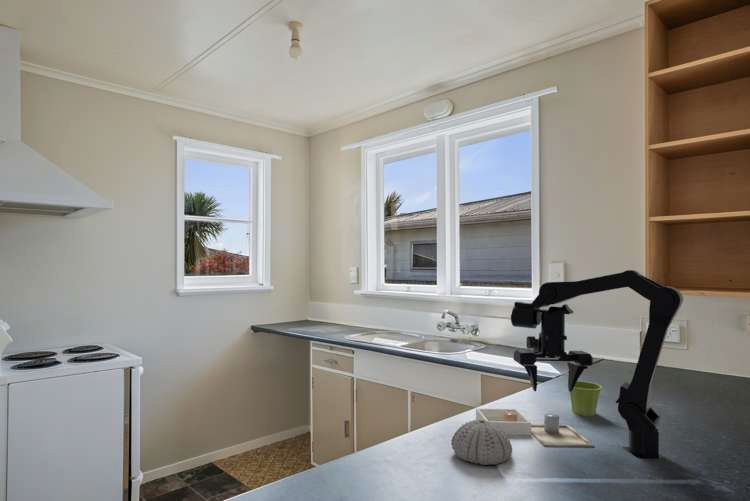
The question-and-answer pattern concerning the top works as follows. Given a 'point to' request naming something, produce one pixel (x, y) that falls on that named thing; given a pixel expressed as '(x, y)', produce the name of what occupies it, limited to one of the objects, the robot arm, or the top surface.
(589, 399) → the plant pot
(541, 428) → the parts tray
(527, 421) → the square storage bin
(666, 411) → the top surface
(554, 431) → the slate pebble
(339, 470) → the top surface
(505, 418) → the peach rounded cylinder
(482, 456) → the sea urchin shell
